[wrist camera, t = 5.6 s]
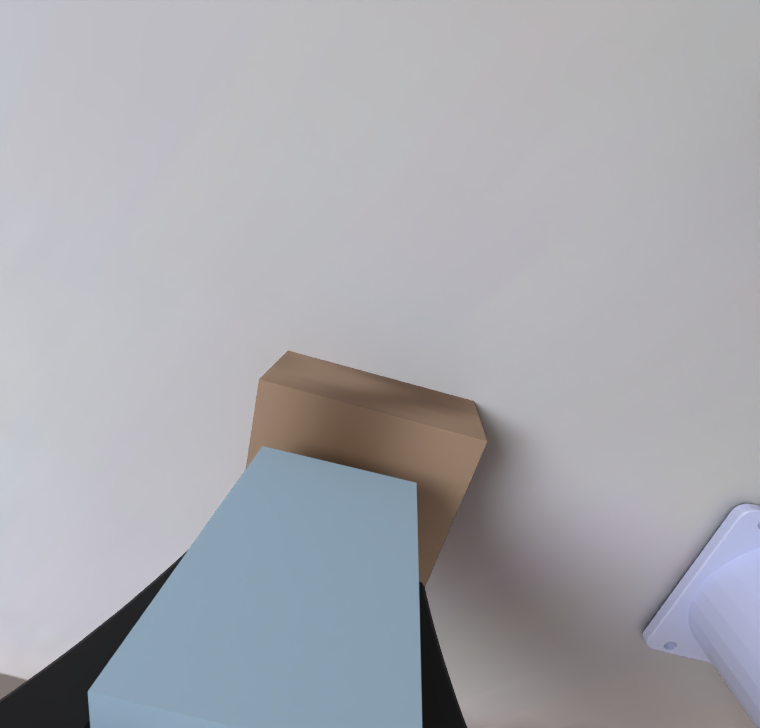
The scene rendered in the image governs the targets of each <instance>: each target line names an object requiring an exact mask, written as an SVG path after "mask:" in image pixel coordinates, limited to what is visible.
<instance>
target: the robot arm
mask: <svg viewBox="0 0 760 728" xmlns="http://www.w3.org/2000/svg"><path fill="white" fill-rule="evenodd" d="M186 553H187V552H185V553H184V554H183V555H182V556H181V557H180V558H179V559H178V560H177V561H176V562H175V563H174V564H172V565H171V566H170V567H169V568H168V569H167V570H166V571H165V572H164V573H162V574H161V575H160V576H159V577H158V578H157V579H156V580H154V581H153V582H152V583H151V584H150V585H149V586H147V587H146V588H145V589H144V590H143V591H142V592H140V593H139V594H138V595H137V596H136V597H135V598H133V599H132V600H131V601H130V602H129V603H128V604H126V605H125V606H124V607H123V608H122V609H120V610H119V611H118V612H117V613H115V614H114V615H113V616H112V617H110V618H109V619H108V620H107V621H105V622H104V623H103V624H102V625H100V626H99V627H98V628H97V629H95V630H94V631H93V632H92V633H90V634H89V635H88V636H86V637H85V638H84V639H83V640H81V641H80V642H79V643H78V644H76V645H75V646H74V647H72V648H71V649H70V650H68V651H67V652H66V653H64V654H63V655H62V656H60V657H59V658H58V659H56V660H55V661H54V662H52V663H51V664H50V665H48V666H47V667H46V668H44V669H43V670H42V671H40V672H39V673H37V674H36V675H35V676H33V677H32V678H30V679H29V680H28V681H26V682H25V683H23V684H22V685H21V686H19V687H18V688H17V689H15V690H14V691H12V692H11V693H10V694H8V695H7V696H5V697H3V698H2V699H1V700H0V728H90V717H89V704H88V690H89V689H90V687H91V686H92V685H93V683H94V682H95V680H96V679H97V678H98V676H99V675H100V673H101V672H102V671H103V669H104V668H105V666H106V665H107V664H108V662H109V661H110V659H111V658H112V657H113V655H114V654H115V652H116V651H117V650H118V648H119V647H120V645H121V644H122V643H123V641H124V640H125V638H126V637H127V636H128V634H129V633H130V631H131V630H132V628H133V627H134V626H135V624H136V623H137V621H138V620H139V619H140V617H141V616H142V614H143V613H144V612H145V610H146V609H147V607H148V606H149V605H150V603H151V602H152V600H153V599H154V598H155V596H156V595H157V593H158V592H159V591H160V589H161V588H162V586H163V585H164V584H165V582H166V581H167V579H168V578H169V577H170V575H171V574H172V572H173V571H174V569H175V568H176V567H177V565H178V564H179V562H180V561H181V560H182V558H183V557H184V555H185V554H186ZM419 607H420V649H421V692H422V728H467V726H466V723H465V721H464V718H463V715H462V712H461V710H460V707H459V704H458V701H457V698H456V695H455V692H454V689H453V686H452V683H451V680H450V677H449V674H448V671H447V668H446V665H445V662H444V659H443V655H442V652H441V649H440V645H439V642H438V638H437V635H436V631H435V628H434V624H433V620H432V616H431V612H430V608H429V604H428V600H427V596H426V591H425V586H424V585H423V583H422V582H419ZM642 637H643V640H644V641H645V643H646V645H647V646H648V647H649V648H651V649H654V650H657V651H662V652H666V653H670V654H674V655H678V656H683V657H687V658H691V659H695V660H700V661H704V662H708V663H712V664H713V665H714V667H715V668H716V670H717V671H718V673H719V674H720V676H721V677H722V679H723V680H724V681H725V683H726V684H727V686H728V687H729V689H730V690H731V692H732V693H733V695H734V696H735V698H736V699H737V700H738V702H739V703H740V705H741V706H742V708H743V709H744V711H745V712H746V714H747V715H748V717H749V718H750V720H751V721H752V722H753V724H754V725H755V727H756V728H760V506H758V505H754V504H742V505H739V506H737V507H735V508H734V509H733V510H732V511H731V512H730V513H729V515H728V516H727V517H726V519H725V520H724V522H723V523H722V524H721V526H720V527H719V528H718V530H717V531H716V533H715V534H714V535H713V537H712V538H711V539H710V541H709V542H708V544H707V545H706V546H705V548H704V549H703V550H702V552H701V553H700V555H699V556H698V557H697V559H696V560H695V561H694V563H693V564H692V566H691V567H690V568H689V570H688V571H687V572H686V574H685V575H684V577H683V578H682V579H681V581H680V582H679V583H678V585H677V586H676V588H675V589H674V590H673V592H672V593H671V594H670V596H669V597H668V599H667V600H666V601H665V603H664V604H663V605H662V607H661V608H660V610H659V611H658V612H657V614H656V615H655V616H654V618H653V619H652V621H651V622H650V623H649V625H648V626H647V627H646V629H645V630H644V632H643V634H642Z"/></svg>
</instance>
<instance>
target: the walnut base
mask: <svg viewBox="0 0 760 728" xmlns="http://www.w3.org/2000/svg"><path fill="white" fill-rule="evenodd" d="M486 444H487V438H486V435H485V432H484V429H483V426H482V424H481V421H480V418H479V415H478V412H477V409H476V406H475V403H474V401H471V400H468V399H464V398H460V397H457V396H453V395H449V394H445V393H442V392H438V391H434V390H431V389H427V388H423V387H420V386H416V385H412V384H409V383H405V382H401V381H398V380H394V379H390V378H387V377H383V376H379V375H376V374H372V373H368V372H365V371H361V370H357V369H353V368H350V367H346V366H342V365H339V364H335V363H331V362H328V361H324V360H320V359H317V358H313V357H309V356H306V355H302V354H298V353H295V352H291V351H287V352H286V353H285V354H284V355H283V356H282V357H281V358H280V359H279V360H278V361H277V362H276V363H275V364H274V365H273V366H272V367H271V368H270V369H269V370H268V371H267V372H266V373H265V374H264V375H263V376H262V377H261V378H260V379H259V384H258V391H257V397H256V404H255V411H254V418H253V425H252V431H251V438H250V445H249V452H248V459H247V465H246V468H247V467H248V466H249V464H250V463H251V461H252V460H253V459H254V457H255V456H256V454H257V453H258V452H259V450H260V449H261V447H262V446H265V447H269V448H273V449H277V450H281V451H285V452H290V453H294V454H298V455H302V456H306V457H311V458H315V459H319V460H323V461H327V462H332V463H336V464H340V465H344V466H348V467H353V468H357V469H361V470H365V471H369V472H374V473H378V474H382V475H386V476H390V477H394V478H399V479H403V480H407V481H411V482H415V483H417V521H418V564H419V582H422V583H423V585H424V586H426V583H427V581H428V579H429V576H430V574H431V572H432V569H433V567H434V565H435V562H436V560H437V558H438V555H439V553H440V551H441V548H442V546H443V544H444V541H445V539H446V537H447V534H448V532H449V530H450V527H451V525H452V523H453V520H454V518H455V516H456V514H457V511H458V509H459V507H460V504H461V502H462V500H463V497H464V495H465V493H466V490H467V488H468V486H469V483H470V481H471V479H472V476H473V474H474V472H475V469H476V467H477V465H478V462H479V460H480V458H481V455H482V453H483V451H484V448H485V446H486Z"/></svg>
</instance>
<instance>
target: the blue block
mask: <svg viewBox="0 0 760 728" xmlns="http://www.w3.org/2000/svg"><path fill="white" fill-rule="evenodd" d="M88 704H89V717H90V728H422V692H421V649H420V607H419V564H418V521H417V483H415V482H411V481H407V480H403V479H399V478H394V477H390V476H386V475H382V474H378V473H374V472H369V471H365V470H361V469H357V468H353V467H348V466H344V465H340V464H336V463H332V462H327V461H323V460H319V459H315V458H311V457H306V456H302V455H298V454H294V453H290V452H285V451H281V450H277V449H273V448H269V447H265V446H262V447H261V449H260V450H259V452H258V453H257V454H256V456H255V457H254V459H253V460H252V461H251V463H250V464H249V466H248V467H247V468H246V470H245V471H244V473H243V474H242V475H241V477H240V478H239V480H238V481H237V482H236V484H235V485H234V487H233V488H232V489H231V491H230V492H229V494H228V495H227V496H226V498H225V499H224V501H223V502H222V503H221V505H220V506H219V508H218V509H217V511H216V512H215V513H214V515H213V516H212V518H211V519H210V520H209V522H208V523H207V525H206V526H205V527H204V529H203V530H202V532H201V533H200V534H199V536H198V537H197V539H196V540H195V541H194V543H193V544H192V546H191V547H190V548H189V550H188V551H187V553H186V554H185V555H184V557H183V558H182V560H181V561H180V562H179V564H178V565H177V567H176V568H175V569H174V571H173V572H172V574H171V575H170V577H169V578H168V579H167V581H166V582H165V584H164V585H163V586H162V588H161V589H160V591H159V592H158V593H157V595H156V596H155V598H154V599H153V600H152V602H151V603H150V605H149V606H148V607H147V609H146V610H145V612H144V613H143V614H142V616H141V617H140V619H139V620H138V621H137V623H136V624H135V626H134V627H133V628H132V630H131V631H130V633H129V634H128V636H127V637H126V638H125V640H124V641H123V643H122V644H121V645H120V647H119V648H118V650H117V651H116V652H115V654H114V655H113V657H112V658H111V659H110V661H109V662H108V664H107V665H106V666H105V668H104V669H103V671H102V672H101V673H100V675H99V676H98V678H97V679H96V680H95V682H94V683H93V685H92V686H91V687H90V689H89V690H88Z"/></svg>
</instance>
